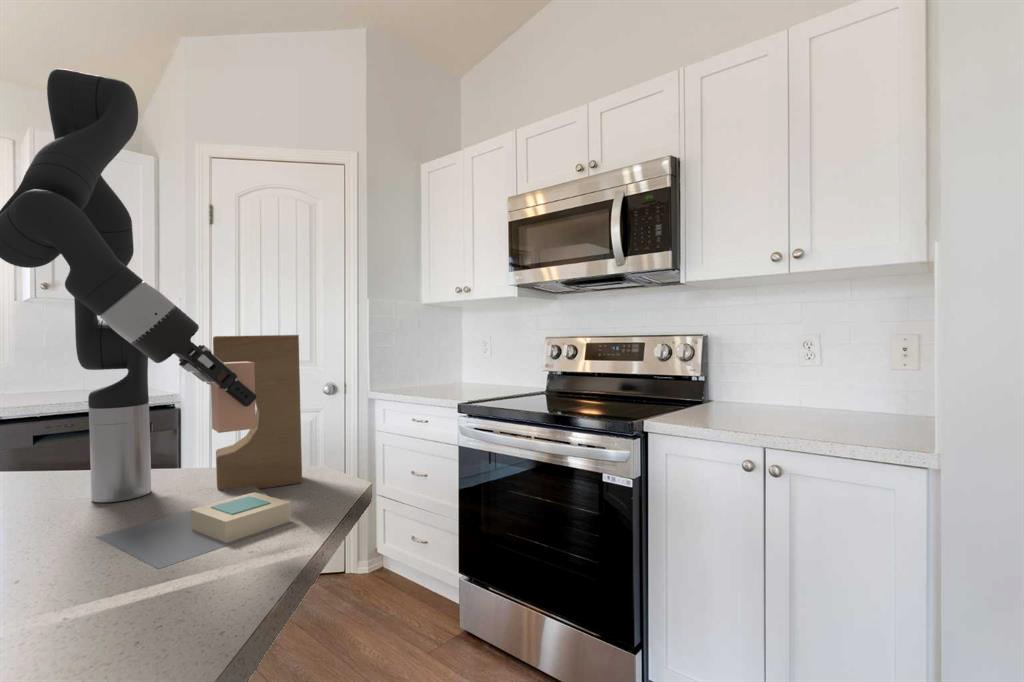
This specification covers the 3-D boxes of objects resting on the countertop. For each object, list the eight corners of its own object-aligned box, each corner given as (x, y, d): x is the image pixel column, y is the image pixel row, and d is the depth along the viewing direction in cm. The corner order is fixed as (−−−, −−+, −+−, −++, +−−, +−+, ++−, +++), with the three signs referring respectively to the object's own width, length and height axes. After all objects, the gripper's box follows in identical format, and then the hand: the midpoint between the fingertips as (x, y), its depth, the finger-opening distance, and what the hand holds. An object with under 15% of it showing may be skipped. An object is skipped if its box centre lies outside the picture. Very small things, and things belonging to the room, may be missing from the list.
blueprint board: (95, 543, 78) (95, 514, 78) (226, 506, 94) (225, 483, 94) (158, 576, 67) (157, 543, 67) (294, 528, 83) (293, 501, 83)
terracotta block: (218, 432, 78) (217, 364, 78) (212, 428, 82) (210, 362, 81) (255, 428, 81) (254, 362, 81) (247, 424, 85) (246, 361, 85)
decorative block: (217, 495, 101) (213, 336, 100) (216, 486, 107) (212, 336, 107) (302, 483, 108) (299, 334, 108) (296, 475, 115) (293, 334, 114)
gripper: (180, 300, 71) (278, 385, 79) (166, 305, 82) (253, 379, 90) (132, 342, 67) (239, 425, 75) (124, 341, 79) (218, 414, 86)
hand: (246, 399), depth 82 cm, fingers closed on terracotta block, 5 cm apart
